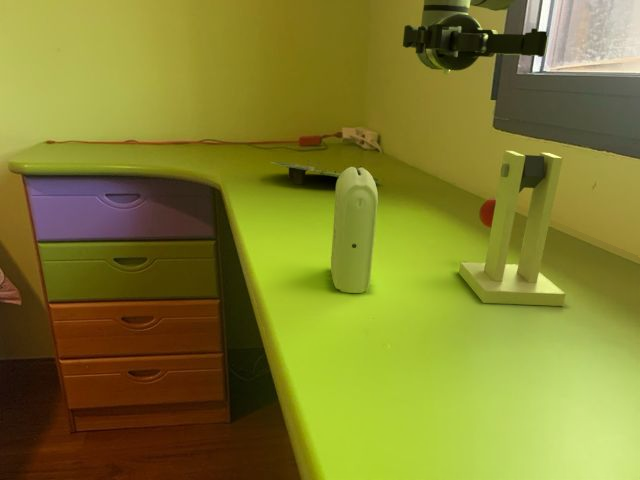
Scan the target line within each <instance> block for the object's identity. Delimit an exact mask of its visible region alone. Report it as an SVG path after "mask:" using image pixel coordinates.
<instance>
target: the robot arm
mask: <svg viewBox="0 0 640 480" xmlns="http://www.w3.org/2000/svg"><path fill="white" fill-rule="evenodd" d="M514 1H515V0H423V8H422V12H421V13H422V14H421V22H420V23H421V24H420V26H418V27H417V26H412V25H411V24H407V25H404V28H403V38H402V39H403V40H402V47H404V48H406V49H409V48H413V49H415V54H416V56H417V58H418V59H419V61H420V62H421V63H422V64H423V65H424V66H425V67H427V68H429V69H431V70H437V71H438V70H439V71H440V70H441V71H443V74H444V75H449V74H450V72H451V71H463V70H466V69H468V68H470V67H471V66H472V65H474V64H475V62H476V61H477V60H478V59H479V58H481V57H482V58H484V57H485V58H493V57H494V56H495V55H496V54H497V55H498V56H500V57H502V56H527V57H533V56H535V57H536V56H537V57H538V58H542V57H545V56H546V53H547V52H546V51H547V47H548V40H549V36H548V35H547V34H548V31H545V30H539V28H536V27H535V28H534V27H533V28H531V30H530V31H529V32H525V33H524V34H519V33H518V34H517V33H498V31H497V30H495V29H483V28H482V27H481V24H480V23H479V22H478V20H477V19H476V18H474V17H473V16H471V15H469V13H470V6H471V7H472V6H473V7H478V8H482V9H488V10H490V11H494V12H498V11H509V10H508V7H509V4H511V3H513V2H514Z"/></svg>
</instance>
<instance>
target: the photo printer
mask: <svg viewBox="0 0 640 480" xmlns="http://www.w3.org/2000/svg"><path fill="white" fill-rule="evenodd" d="M340 173H341V175H340V176H339V177H337V180H336V183H335V191H334V194H335V195H334V197H335V198H334V211H333V227H332V228H333V229H332V241H331V242H332V243H331V256H330V272H331V278H332V282H333V285H334V288H335V289H336V290H339V291H340V292H342V293H347V294H362V293H364V292H365V291H368V290H369V287H370V282H371V277H372V276H371V275H372V266H373V258H374V257H373V256H374V247H375V246H374V245H375V235H376V225H377V216H378V215H377V214H378V205H379V204H378V203H379V195H378V193H379V192H378V189H377V185H376V184H377V183H375V182H374V179H373V177H374V176H372V174H371V173H370V172H369V171H368V170H367V169H366V168H364V167H361V168H359V167H358V168H356V167H355V166H350V167H347V168H345V170H344V171H343V170H342V171H341V172H340Z"/></svg>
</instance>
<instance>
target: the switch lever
mask: <svg viewBox="0 0 640 480" xmlns="http://www.w3.org/2000/svg"><path fill="white" fill-rule="evenodd" d="M523 155H524V156H525V161H524V167H523V172H522V178H521V183H520V189H519V194H520V193H521V192H522V191H523V190H524V189H533V188H535V187H536V186H537V185H538V184H539V183H540V182H541V181H542V180H543V178H544V156H539V155H533V154H523ZM496 198H497V197H492V198H489V199H487V200H485V201H484V202H483V203H482V205H480V208H479V213H478V214H479V220H480V222H481V224H482V225H483V226H484V227H487V228H489V229H491V227H492V221H493V215H494V210H495V204H496Z"/></svg>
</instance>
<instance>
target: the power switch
mask: <svg viewBox="0 0 640 480" xmlns="http://www.w3.org/2000/svg"><path fill="white" fill-rule="evenodd" d="M524 155H525V154H522V153H518V152H517V151H514V150H504V151H503V157H502V164H501V168H500V176H499V181H498V187H497V193H496V197H495V198H496V204H495V210H494V215H493V221H492V227H491V228H490V234H489V240H488V246H487V251H486V257H485V262H470V261H469V262H468V261H467V262H466V261H460V263H459V267H458V274H459V276H461V278H462V279H463V280H464V282H466V284H467V285H468V286H469V287H470V289H471V290H472V291H473V292H474V294H475V295H476V296H477V297H478V298H479V299H480V301H481V302H482V303H483V304H501V305H502V304H504V305H525V306H547V307H548V306H549V307H551V306H552V307H556V306H557V307H563V306H564V304H565V300H566V296H567V295H566V292H564V291H563V290H562V289H561V288H559V287H558V286H557V285H556V284H554V283H553V282H552V281H551V280H549V279H548V278H547V277H546V276H544V275H543V274H542V273H541V272H540V270H541V265H542V259H543V255H544V250H545V246H546V240H547V235H548V230H549V227H550V221H551V216H552V212H553V207H554V202H555V198H556V192H557V188H558V182H559V178H560V173H561V170H562V169H561V168H562V164H563V159H564V158H563V157H561V156H558V155H555V154H552V153H550V152H539V155H538V156H544V178H543V180H542V181H541V182H540V183H539V184H538V185H537V186H536V187H535V188H532V192H531V197H530V202H529V207H528V212H527V218H526V223H525V227H524V233H523V234H524V235H523V238H522V245H521V249H520V254H519V258H518V263H517V264H513V263H507V258H508V253H509V247H510V242H511V238H512V237H511V235H512V231H513V227H514V220H515V215H516V209H517V205H518V200H519V194H520V193H519V189H520V183H521V178H522V172H523V167H524V161H525V156H524Z"/></svg>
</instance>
